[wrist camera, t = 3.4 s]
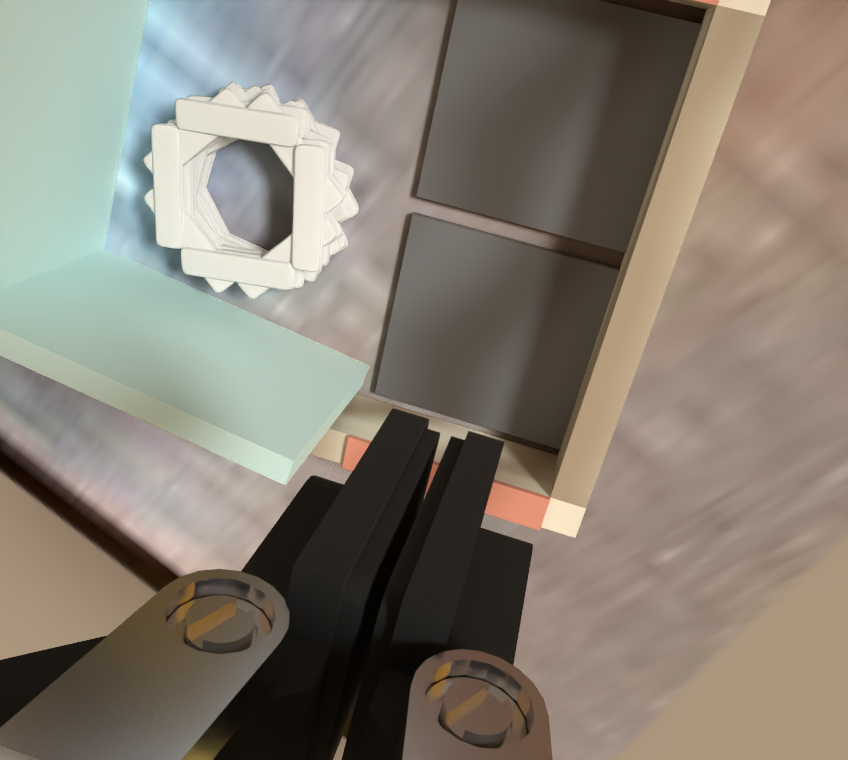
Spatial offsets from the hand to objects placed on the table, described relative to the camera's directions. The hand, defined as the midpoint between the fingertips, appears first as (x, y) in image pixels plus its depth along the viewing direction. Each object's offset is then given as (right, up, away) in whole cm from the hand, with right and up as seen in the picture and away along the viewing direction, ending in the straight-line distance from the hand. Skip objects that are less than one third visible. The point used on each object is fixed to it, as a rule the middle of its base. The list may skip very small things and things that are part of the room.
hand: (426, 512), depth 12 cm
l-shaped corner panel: (-6, +9, +16) cm, 20 cm away
